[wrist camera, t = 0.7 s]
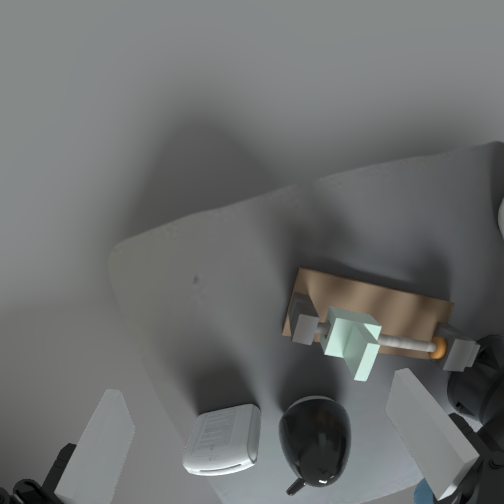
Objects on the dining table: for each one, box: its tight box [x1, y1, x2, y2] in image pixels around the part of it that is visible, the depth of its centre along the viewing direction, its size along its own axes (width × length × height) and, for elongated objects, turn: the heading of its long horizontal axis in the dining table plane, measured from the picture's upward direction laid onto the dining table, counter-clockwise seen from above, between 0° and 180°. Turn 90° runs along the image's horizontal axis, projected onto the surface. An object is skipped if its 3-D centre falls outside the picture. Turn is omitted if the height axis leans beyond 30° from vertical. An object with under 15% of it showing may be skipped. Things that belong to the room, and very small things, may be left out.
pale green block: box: [319, 306, 382, 381], centre depth 27 cm, size 5×4×9 cm
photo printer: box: [182, 404, 261, 475], centre depth 36 cm, size 10×4×12 cm, turn 111°
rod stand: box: [282, 267, 480, 372], centre depth 33 cm, size 24×9×11 cm, turn 77°
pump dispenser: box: [279, 396, 351, 496], centre depth 33 cm, size 10×10×15 cm
